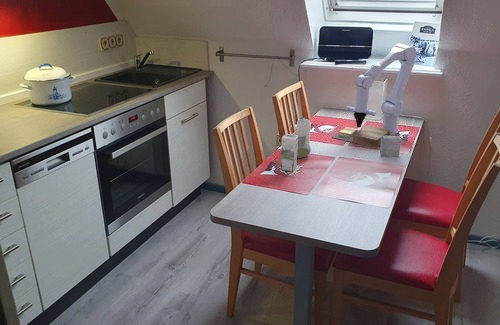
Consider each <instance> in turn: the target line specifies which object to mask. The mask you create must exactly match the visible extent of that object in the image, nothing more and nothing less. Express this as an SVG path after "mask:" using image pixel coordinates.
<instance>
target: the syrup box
mask: <svg viewBox="0 0 500 325" xmlns="http://www.w3.org/2000/svg"><path fill="white" fill-rule="evenodd" d="M297 147H298V135H293V134H291V133H290V134H288V133H285V134H283V135H282V137H281V148H280V149H281V150H280V171H287V172H295V170H296V168H297V164H298V163H297V162H298V161H297V160H298V158H297Z"/></svg>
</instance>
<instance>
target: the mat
mask: <svg viewBox="0 0 500 325" xmlns="http://www.w3.org/2000/svg"><path fill="white" fill-rule="evenodd" d="M360 130H361V129H360ZM360 130H359V129H358V130H357V132H358V131H360ZM331 139H335V140H339V141H343V142H349V143H352V141H353V136H352V137H351V138H348V137H343V136H339V132H338V133H336V134H334V135H332V136H331Z"/></svg>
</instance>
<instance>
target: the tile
mask: <svg viewBox="0 0 500 325" xmlns="http://www.w3.org/2000/svg"><path fill="white" fill-rule="evenodd" d="M357 130H359V128H358V129H357V128H353V127H348V126H346V127H344V128H343V129H341V130H340V131H338V133H339V136H343V137H348V138H351V137H352V136H353V135H354V134H355V133H357Z"/></svg>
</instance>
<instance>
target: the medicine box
mask: <svg viewBox="0 0 500 325" xmlns="http://www.w3.org/2000/svg"><path fill="white" fill-rule="evenodd" d="M401 145H402V138H401V137H400V136H399V135H394V136H392V135H390V136H382V139H381V145H380V146H379V147H380V148H379V154H380V157H385V158H386V157H390V158H399V157H400V150H401Z"/></svg>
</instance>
